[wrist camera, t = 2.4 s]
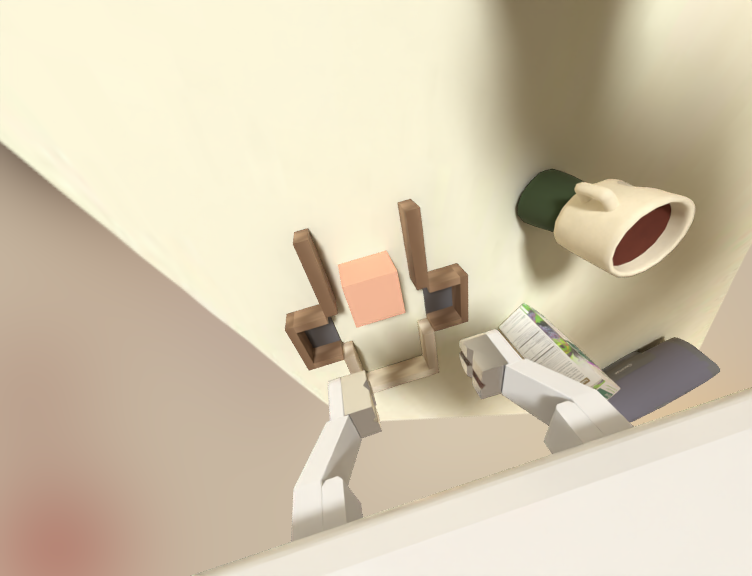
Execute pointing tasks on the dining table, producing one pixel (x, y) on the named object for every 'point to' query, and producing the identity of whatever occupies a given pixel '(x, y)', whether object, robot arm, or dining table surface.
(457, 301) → the trap channel
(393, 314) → the terracotta block
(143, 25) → the dining table surface
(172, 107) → the dining table surface
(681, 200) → the character mug
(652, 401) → the bluetooth speaker
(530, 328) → the syrup box
